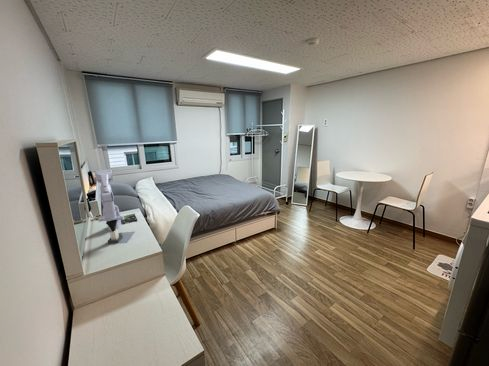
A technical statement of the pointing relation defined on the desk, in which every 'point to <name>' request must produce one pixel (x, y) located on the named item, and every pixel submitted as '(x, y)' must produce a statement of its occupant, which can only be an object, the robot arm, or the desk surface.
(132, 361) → the desk surface
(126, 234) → the board
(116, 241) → the frame
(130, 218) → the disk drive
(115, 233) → the plug
